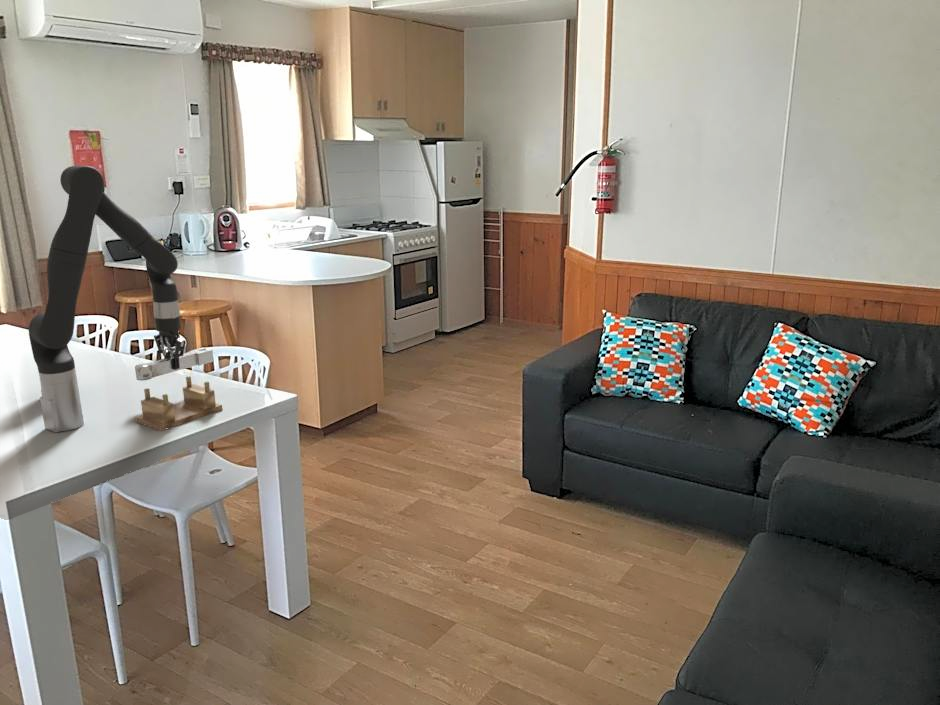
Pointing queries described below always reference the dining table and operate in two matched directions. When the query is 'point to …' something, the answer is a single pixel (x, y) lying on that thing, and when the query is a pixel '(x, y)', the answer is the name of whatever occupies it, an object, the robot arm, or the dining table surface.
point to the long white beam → (165, 365)
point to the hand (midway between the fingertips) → (172, 367)
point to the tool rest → (178, 407)
